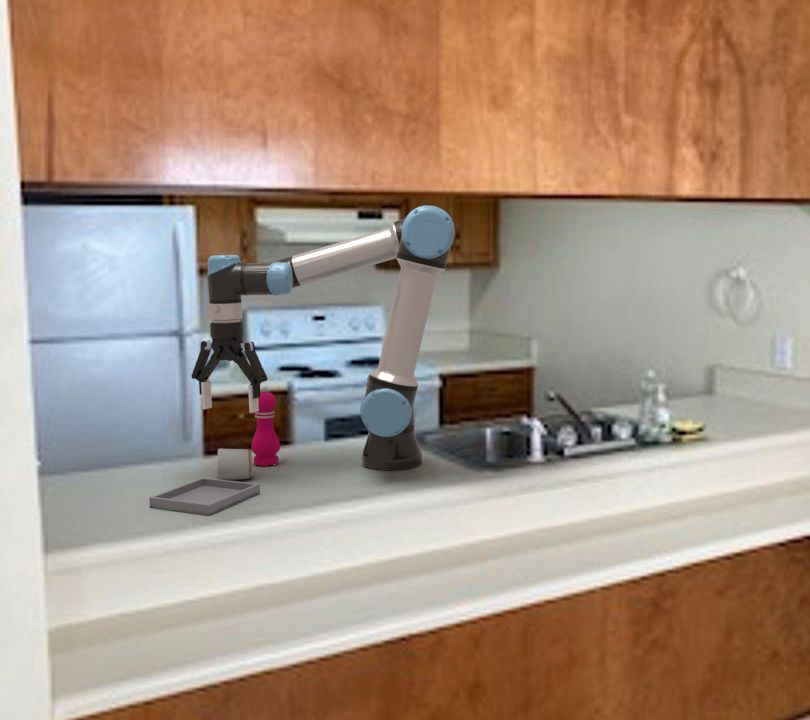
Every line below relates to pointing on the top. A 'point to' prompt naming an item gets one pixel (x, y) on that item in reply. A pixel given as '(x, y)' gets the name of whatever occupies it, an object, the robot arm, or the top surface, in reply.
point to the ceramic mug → (234, 464)
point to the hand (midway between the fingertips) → (230, 410)
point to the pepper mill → (265, 431)
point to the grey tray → (204, 496)
